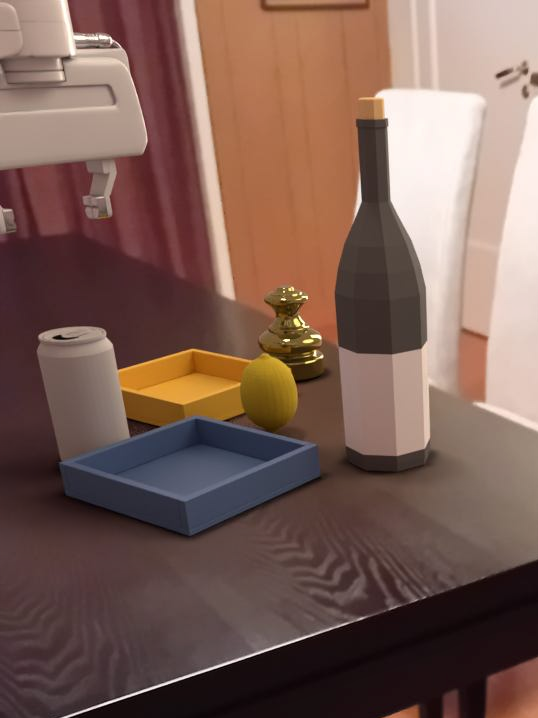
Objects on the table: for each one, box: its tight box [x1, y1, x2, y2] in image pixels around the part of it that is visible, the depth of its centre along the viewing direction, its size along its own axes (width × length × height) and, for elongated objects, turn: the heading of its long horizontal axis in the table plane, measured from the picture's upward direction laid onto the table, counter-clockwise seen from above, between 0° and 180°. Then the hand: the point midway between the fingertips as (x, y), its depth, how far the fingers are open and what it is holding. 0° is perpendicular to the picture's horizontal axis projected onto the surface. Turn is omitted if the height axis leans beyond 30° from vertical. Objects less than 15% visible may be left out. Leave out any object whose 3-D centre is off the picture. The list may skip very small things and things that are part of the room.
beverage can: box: [36, 325, 131, 462], centre depth 91 cm, size 6×6×12 cm
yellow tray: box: [117, 348, 291, 428], centre depth 110 cm, size 16×16×3 cm
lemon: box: [240, 353, 299, 434], centre depth 99 cm, size 6×6×8 cm
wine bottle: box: [334, 97, 431, 473], centre depth 88 cm, size 8×8×30 cm
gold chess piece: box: [257, 284, 325, 382], centre depth 117 cm, size 7×7×10 cm
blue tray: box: [58, 415, 321, 537], centre depth 89 cm, size 16×16×3 cm
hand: (53, 225), depth 84 cm, fingers open, 8 cm apart
